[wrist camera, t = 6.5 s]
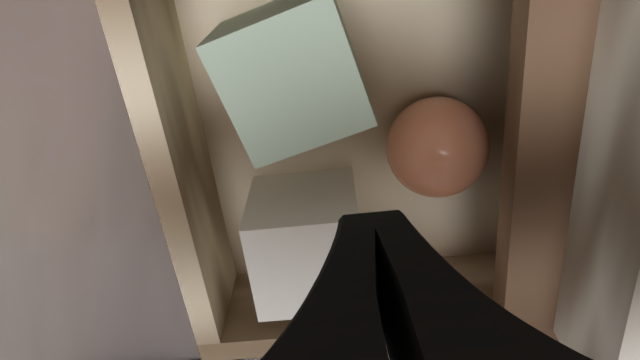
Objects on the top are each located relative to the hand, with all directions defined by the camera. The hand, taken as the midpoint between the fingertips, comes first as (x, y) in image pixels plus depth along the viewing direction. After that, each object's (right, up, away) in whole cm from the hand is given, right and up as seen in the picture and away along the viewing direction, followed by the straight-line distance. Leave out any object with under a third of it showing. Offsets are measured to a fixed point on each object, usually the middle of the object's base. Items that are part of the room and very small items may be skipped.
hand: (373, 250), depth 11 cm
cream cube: (-2, 0, +8) cm, 8 cm away
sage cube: (-2, +6, +5) cm, 8 cm away
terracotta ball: (+3, +3, +6) cm, 7 cm away
